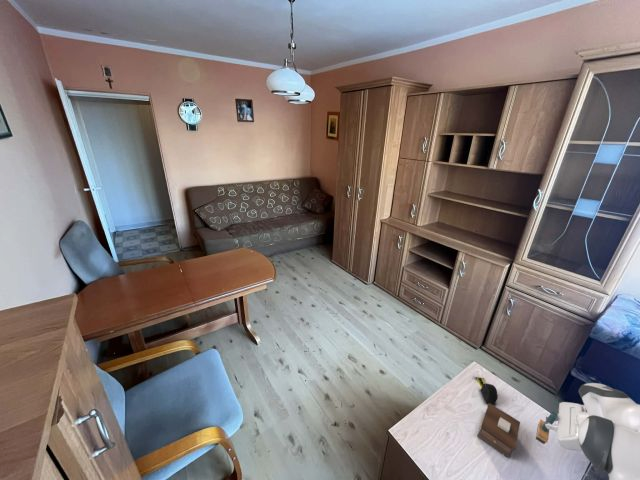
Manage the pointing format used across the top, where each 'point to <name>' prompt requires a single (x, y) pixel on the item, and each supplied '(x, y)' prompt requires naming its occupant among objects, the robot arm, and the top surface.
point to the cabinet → (498, 430)
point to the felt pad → (504, 424)
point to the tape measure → (488, 392)
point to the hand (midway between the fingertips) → (546, 422)
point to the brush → (542, 430)
